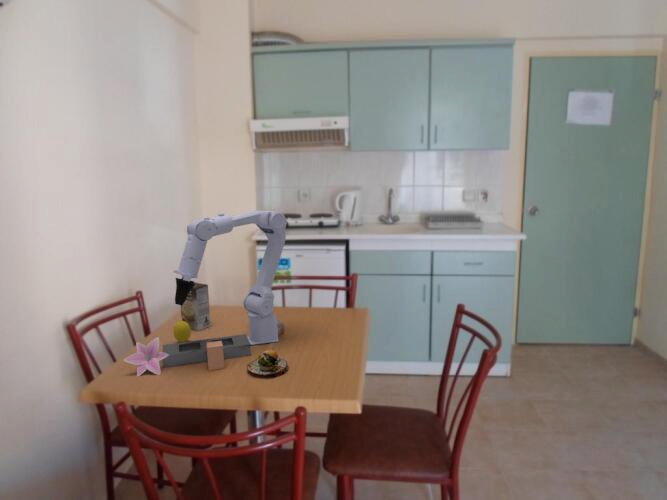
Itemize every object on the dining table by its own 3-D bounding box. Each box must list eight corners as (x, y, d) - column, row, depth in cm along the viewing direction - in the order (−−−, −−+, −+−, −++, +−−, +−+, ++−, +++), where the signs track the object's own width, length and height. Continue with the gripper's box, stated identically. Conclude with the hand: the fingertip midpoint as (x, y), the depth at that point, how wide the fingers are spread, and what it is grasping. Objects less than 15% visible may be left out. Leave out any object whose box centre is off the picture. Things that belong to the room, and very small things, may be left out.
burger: (242, 367, 145) (241, 343, 144) (280, 359, 150) (279, 336, 149) (253, 383, 135) (251, 357, 133) (293, 374, 139) (292, 349, 138)
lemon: (186, 346, 162) (184, 323, 161) (171, 345, 163) (169, 322, 162) (194, 340, 168) (192, 318, 166) (179, 339, 169) (177, 317, 167)
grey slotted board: (246, 344, 163) (245, 334, 162) (250, 355, 154) (250, 344, 153) (163, 355, 155) (162, 344, 155) (163, 367, 146) (162, 356, 145)
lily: (121, 376, 143) (118, 357, 137) (142, 350, 151) (141, 330, 146) (155, 389, 141) (154, 370, 136) (175, 362, 150) (175, 343, 145)
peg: (223, 362, 148) (221, 340, 147) (224, 368, 144) (222, 345, 143) (208, 364, 147) (206, 342, 146) (208, 370, 143) (207, 347, 142)
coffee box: (181, 327, 182) (177, 285, 179) (194, 322, 187) (191, 281, 184) (198, 331, 177) (195, 288, 174) (211, 326, 182) (208, 284, 179)
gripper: (177, 255, 152) (165, 297, 150) (178, 255, 138) (164, 302, 137) (200, 261, 154) (188, 303, 152) (203, 262, 140) (189, 308, 139)
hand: (178, 303), depth 145 cm, fingers open, 7 cm apart
